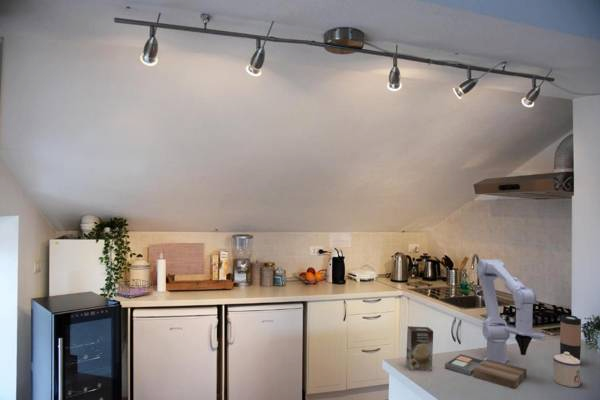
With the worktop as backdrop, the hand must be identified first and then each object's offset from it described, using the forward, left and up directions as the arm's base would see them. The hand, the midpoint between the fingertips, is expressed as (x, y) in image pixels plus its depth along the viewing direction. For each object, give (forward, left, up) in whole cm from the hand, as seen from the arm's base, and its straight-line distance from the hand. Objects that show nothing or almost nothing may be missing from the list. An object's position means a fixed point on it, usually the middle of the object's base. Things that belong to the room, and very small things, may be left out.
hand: (523, 354), depth 163 cm
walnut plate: (+5, -7, -9) cm, 13 cm away
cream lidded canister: (-10, +13, -10) cm, 19 cm away
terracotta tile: (+3, -22, -7) cm, 23 cm away
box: (+5, -21, -9) cm, 23 cm away
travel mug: (-34, +10, -10) cm, 37 cm away
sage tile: (+9, -21, -7) cm, 24 cm away
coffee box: (+20, -34, -10) cm, 41 cm away
